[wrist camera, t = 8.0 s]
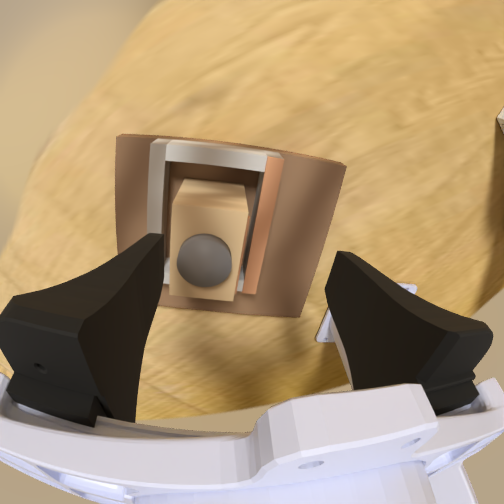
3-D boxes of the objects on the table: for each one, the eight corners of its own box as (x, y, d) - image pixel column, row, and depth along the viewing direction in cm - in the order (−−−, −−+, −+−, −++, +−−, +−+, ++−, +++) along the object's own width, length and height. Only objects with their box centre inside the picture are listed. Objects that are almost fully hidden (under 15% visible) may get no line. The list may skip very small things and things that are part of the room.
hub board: (340, 162, 20) (358, 175, 17) (297, 308, 27) (304, 334, 24) (122, 134, 18) (104, 142, 15) (126, 292, 25) (115, 317, 22)
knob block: (246, 184, 20) (252, 219, 15) (233, 259, 22) (235, 310, 18) (185, 177, 19) (169, 209, 14) (179, 253, 22) (167, 303, 17)
